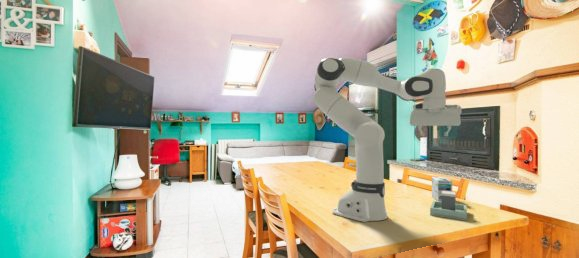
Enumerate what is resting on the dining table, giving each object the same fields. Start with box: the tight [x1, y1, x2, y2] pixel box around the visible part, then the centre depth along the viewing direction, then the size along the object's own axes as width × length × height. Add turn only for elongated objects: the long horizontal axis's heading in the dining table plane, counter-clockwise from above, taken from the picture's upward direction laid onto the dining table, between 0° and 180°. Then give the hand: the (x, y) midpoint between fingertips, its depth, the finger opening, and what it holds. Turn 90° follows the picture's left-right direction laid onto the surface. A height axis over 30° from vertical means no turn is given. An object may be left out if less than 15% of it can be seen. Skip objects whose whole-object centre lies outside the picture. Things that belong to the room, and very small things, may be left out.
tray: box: [429, 200, 468, 222], centre depth 118 cm, size 13×13×3 cm
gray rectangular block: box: [442, 191, 457, 211], centre depth 118 cm, size 5×5×8 cm
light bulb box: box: [431, 176, 453, 202], centre depth 140 cm, size 11×7×11 cm, turn 169°
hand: (434, 136), depth 123 cm, fingers open, 8 cm apart
